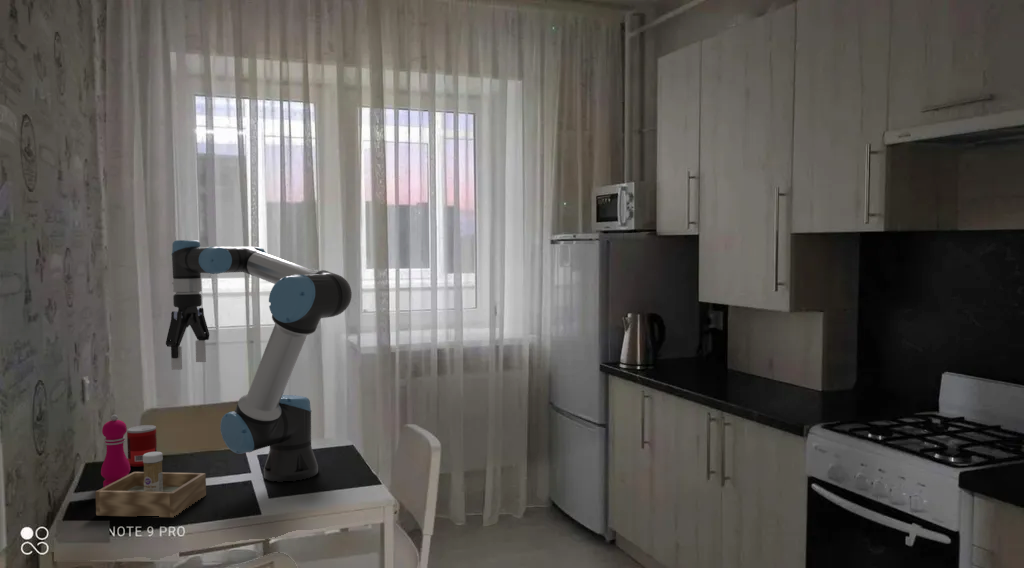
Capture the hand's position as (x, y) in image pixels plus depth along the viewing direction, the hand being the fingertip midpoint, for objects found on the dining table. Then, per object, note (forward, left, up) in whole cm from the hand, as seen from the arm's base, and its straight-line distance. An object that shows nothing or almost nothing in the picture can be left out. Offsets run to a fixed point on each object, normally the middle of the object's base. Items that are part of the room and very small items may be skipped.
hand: (189, 365), depth 213 cm
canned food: (+20, -8, -32) cm, 38 cm away
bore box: (-4, +27, -32) cm, 42 cm away
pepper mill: (+15, +13, -32) cm, 38 cm away
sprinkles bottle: (-4, +27, -32) cm, 42 cm away
